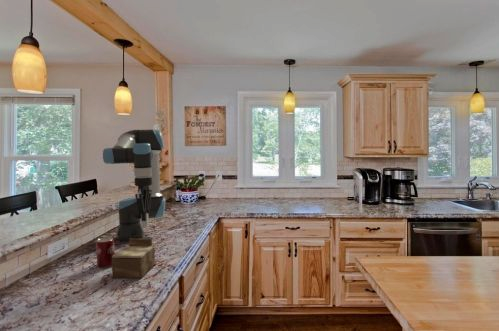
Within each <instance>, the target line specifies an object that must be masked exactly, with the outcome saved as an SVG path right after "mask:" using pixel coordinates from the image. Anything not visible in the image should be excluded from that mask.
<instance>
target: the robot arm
mask: <svg viewBox="0 0 499 331" xmlns="http://www.w3.org/2000/svg"><path fill="white" fill-rule="evenodd" d="M164 146H165V144H164V139H163V135H162V131H161V130H160V129H131V130H129V131H126V132H123V133H122V134H121V135H119V137H118V138H117V142H116V143H115V144H114V146H113V147H109V148H108V147H107V148H106V147H105V148H103V150H102V159H103V162H104V163H105V164H110V165H111V164H112V165H115V164H118V165H120V164H133V174H134V186H135V187H137V193H135V195H134V197H127V198H124V199H122V200H120V201H119V202H118V207H117V208H118V209H117V210H118V222H119V223H118V224H119V226H118V229H117V232H116V240H118V241H129V239H130V238H142V237H144V236H145V233H144V232H145V231H144V229H143V228H145V229H146V228H147V229H148V228H149V227H150V224H149V222H150V221H149V219H158V218H159V219H160V218H163V217H164V216H165V209H166V198H165V197H164V195H163V193H161V178H160V176H161V175H160V174H161V173H160V172H161V171H160V154H161V153H162V149H164V148H165V147H164Z"/></svg>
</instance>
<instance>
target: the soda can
mask: <svg viewBox="0 0 499 331" xmlns="http://www.w3.org/2000/svg"><path fill="white" fill-rule="evenodd" d="M95 247H96V248H95V249H96V263H97V264H96V267H97V268H98V269H100V270H103V269H109V268H112V259H113V258H112V256H113V255H114V254H116V251H115V250H116V248H115V239H114V238H113V237H110V236H109V237H102V238H98V239H97V240H96V242H95Z"/></svg>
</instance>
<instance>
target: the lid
mask: <svg viewBox="0 0 499 331" xmlns="http://www.w3.org/2000/svg"><path fill="white" fill-rule="evenodd" d="M152 248H154V249H155V244H153V238H146V237H144V238H142V237H141V238H130V239H129V240H128V244H127V245H126V246H125V247H123V248H122V249H120V250H119V251H118V252H115V254H114V255H113V256H112V258H142V257H143V256H144V255H145V254H147V253H148V252H149V251H150V250H151V249H152Z"/></svg>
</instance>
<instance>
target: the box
mask: <svg viewBox="0 0 499 331" xmlns="http://www.w3.org/2000/svg"><path fill="white" fill-rule="evenodd" d="M155 254H156V253H155V247H154V248H152V249H151V250H150V251H149V252H148V253H147V254H145V255H144V256H143V257H142V258H113V259H112V267H111V270H112V271H111V272H112V274H111V275H112V279H116V280H117V279H120V280H121V279H124V280H125V279H127V280H130V279H131V280H134V279H135V280H136V279H137V280H138V279H139V280H142V279H143V278H144V277H145V276H146V275H147V274H148V273H149V272H150V271H151V270H152V269H153V268H154V267H155V266H156V261H155V260H156V259H155V258H156V257H155V256H156V255H155Z"/></svg>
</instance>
